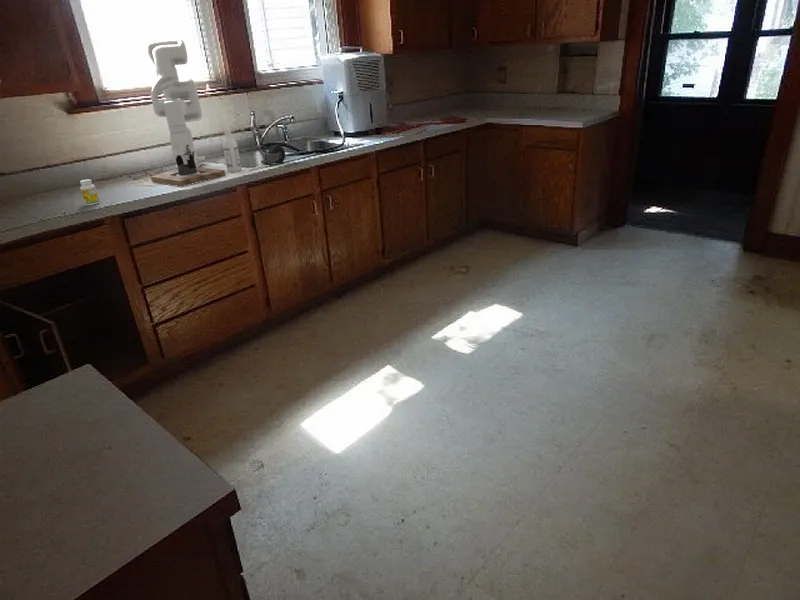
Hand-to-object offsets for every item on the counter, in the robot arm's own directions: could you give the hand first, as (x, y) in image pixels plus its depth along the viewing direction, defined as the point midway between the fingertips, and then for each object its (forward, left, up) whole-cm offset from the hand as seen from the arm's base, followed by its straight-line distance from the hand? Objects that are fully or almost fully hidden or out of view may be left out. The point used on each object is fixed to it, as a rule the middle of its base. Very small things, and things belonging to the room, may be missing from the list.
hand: (186, 167), depth 249 cm
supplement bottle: (+47, +4, -5) cm, 47 cm away
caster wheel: (-40, +14, -5) cm, 43 cm away
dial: (0, 0, -5) cm, 5 cm away
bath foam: (-21, +7, -5) cm, 23 cm away
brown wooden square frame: (0, 0, -5) cm, 5 cm away
